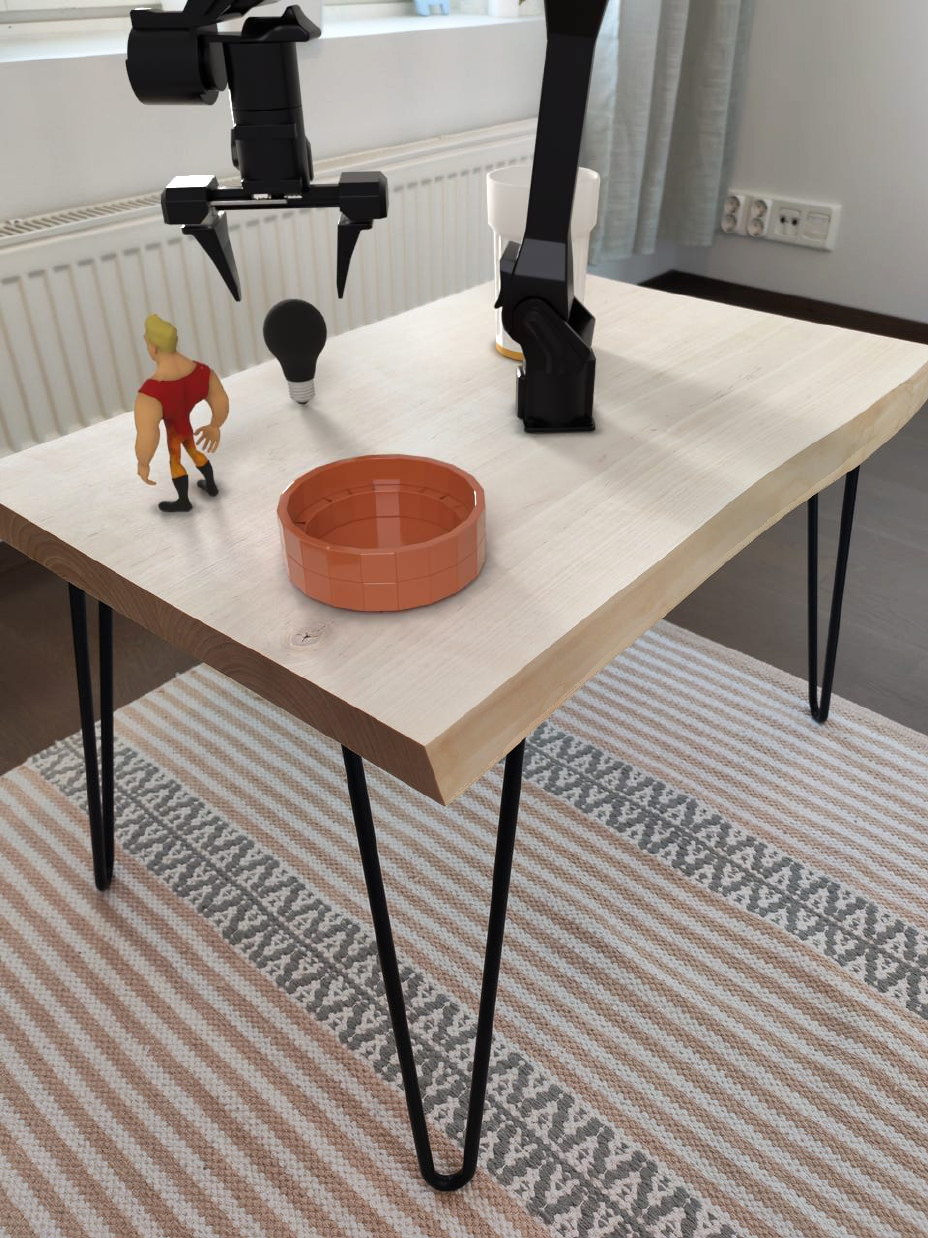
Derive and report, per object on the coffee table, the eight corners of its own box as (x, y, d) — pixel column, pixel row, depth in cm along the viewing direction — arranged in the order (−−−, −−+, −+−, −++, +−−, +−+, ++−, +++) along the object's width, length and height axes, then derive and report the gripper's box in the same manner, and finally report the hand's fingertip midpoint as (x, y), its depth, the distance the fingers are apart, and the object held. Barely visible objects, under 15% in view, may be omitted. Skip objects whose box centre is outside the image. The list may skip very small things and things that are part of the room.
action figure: (216, 471, 83) (184, 293, 74) (248, 481, 82) (219, 300, 73) (132, 519, 76) (86, 330, 68) (165, 531, 75) (123, 339, 66)
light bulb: (322, 418, 92) (311, 312, 86) (263, 413, 93) (248, 308, 87) (341, 394, 96) (332, 291, 91) (285, 390, 97) (272, 288, 92)
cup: (522, 322, 113) (526, 159, 103) (608, 342, 107) (621, 171, 97) (465, 352, 105) (462, 178, 95) (554, 374, 100) (562, 192, 90)
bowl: (480, 509, 77) (480, 451, 74) (490, 614, 65) (490, 550, 63) (297, 514, 77) (290, 456, 74) (274, 620, 65) (264, 556, 62)
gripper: (384, 89, 86) (395, 270, 95) (172, 94, 86) (202, 275, 95) (380, 108, 77) (392, 306, 86) (142, 114, 77) (179, 312, 86)
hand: (290, 298), depth 88 cm, fingers open, 9 cm apart
